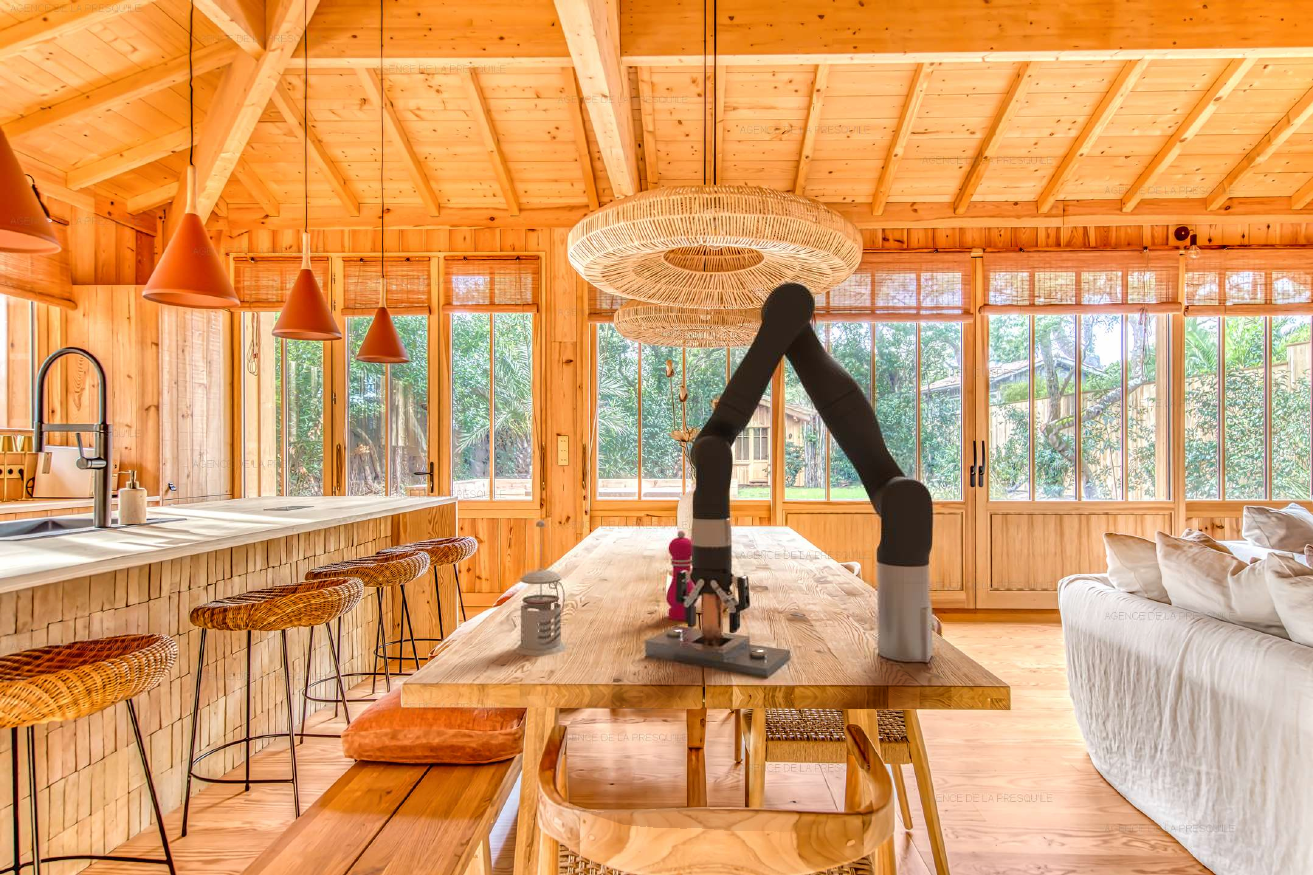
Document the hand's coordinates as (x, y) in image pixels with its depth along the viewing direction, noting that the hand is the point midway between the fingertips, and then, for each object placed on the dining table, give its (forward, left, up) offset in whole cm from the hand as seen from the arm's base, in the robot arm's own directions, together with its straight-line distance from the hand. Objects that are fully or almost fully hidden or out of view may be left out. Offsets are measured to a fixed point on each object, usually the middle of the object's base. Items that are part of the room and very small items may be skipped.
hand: (712, 629), depth 123 cm
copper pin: (0, 0, -5) cm, 5 cm away
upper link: (+3, 0, -5) cm, 6 cm away
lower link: (-4, 0, -5) cm, 6 cm away
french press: (+32, +10, -5) cm, 34 cm away
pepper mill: (+19, -24, -5) cm, 31 cm away
